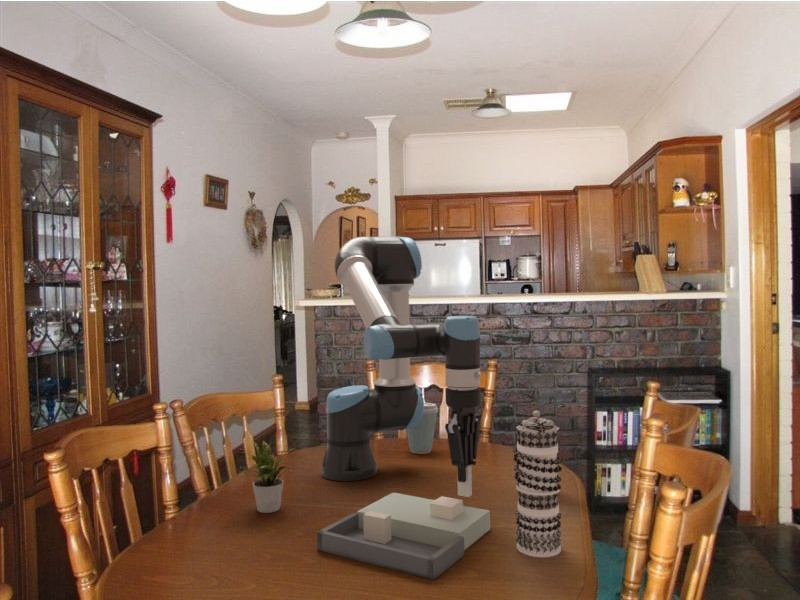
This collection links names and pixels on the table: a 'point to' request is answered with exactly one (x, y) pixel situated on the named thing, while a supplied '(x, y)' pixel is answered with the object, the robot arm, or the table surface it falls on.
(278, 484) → the house plant
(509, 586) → the table surface
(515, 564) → the table surface
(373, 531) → the tile
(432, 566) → the tray
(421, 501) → the board
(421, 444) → the disposable coffee cup
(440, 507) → the tile
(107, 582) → the table surface
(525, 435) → the black and white jar
